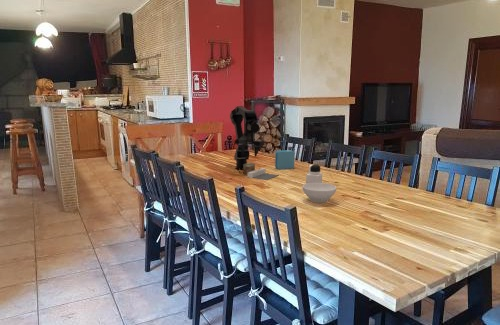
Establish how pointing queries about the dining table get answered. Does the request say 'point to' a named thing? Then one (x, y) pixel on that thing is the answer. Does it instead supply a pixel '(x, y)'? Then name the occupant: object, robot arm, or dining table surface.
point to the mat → (265, 176)
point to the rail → (256, 172)
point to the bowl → (319, 191)
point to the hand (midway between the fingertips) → (249, 155)
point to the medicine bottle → (314, 174)
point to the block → (248, 167)
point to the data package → (284, 159)
